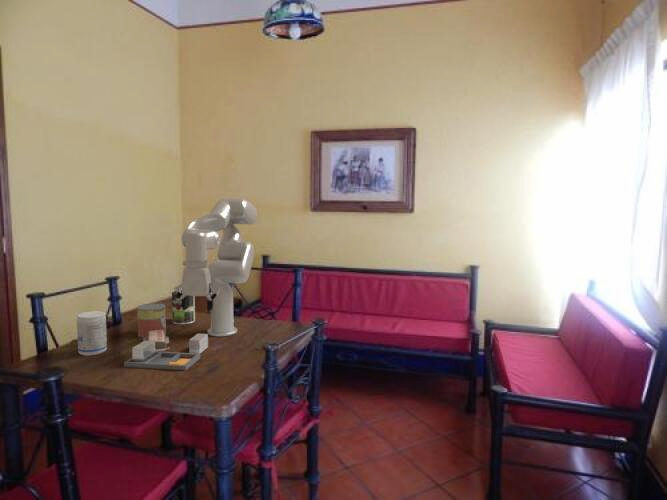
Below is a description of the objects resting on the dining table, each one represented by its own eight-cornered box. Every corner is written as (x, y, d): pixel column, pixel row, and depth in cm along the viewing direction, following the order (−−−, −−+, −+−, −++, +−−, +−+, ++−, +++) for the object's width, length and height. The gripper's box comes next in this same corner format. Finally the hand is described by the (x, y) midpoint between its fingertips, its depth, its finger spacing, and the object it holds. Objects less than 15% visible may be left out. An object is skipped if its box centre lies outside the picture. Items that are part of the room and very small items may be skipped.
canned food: (162, 337, 187) (161, 309, 186) (134, 338, 186) (133, 309, 184) (168, 329, 198) (168, 303, 197) (142, 330, 197) (141, 303, 195)
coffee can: (188, 325, 205) (188, 295, 204) (168, 323, 207) (167, 293, 205) (199, 319, 215) (198, 290, 214) (179, 318, 217) (178, 289, 216)
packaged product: (142, 330, 182) (168, 327, 186) (142, 341, 183) (168, 339, 187) (140, 343, 166) (169, 340, 169) (141, 355, 166) (169, 352, 170)
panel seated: (145, 356, 162) (144, 340, 161) (155, 357, 161) (155, 341, 161) (132, 364, 154) (132, 347, 153) (143, 365, 154) (143, 348, 153)
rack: (142, 356, 164) (142, 349, 164) (200, 359, 162) (200, 352, 161) (123, 369, 152) (123, 360, 152) (185, 372, 150) (185, 364, 149)
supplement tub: (74, 352, 168) (72, 314, 166) (100, 346, 175) (98, 309, 174) (85, 358, 162) (83, 318, 160) (111, 351, 169) (110, 313, 167)
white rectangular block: (198, 348, 174) (197, 333, 174) (208, 348, 174) (207, 333, 173) (189, 355, 166) (189, 339, 166) (199, 356, 166) (199, 340, 165)
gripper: (169, 265, 164) (170, 311, 165) (215, 267, 162) (215, 313, 163) (179, 262, 171) (180, 306, 173) (222, 264, 169) (223, 308, 171)
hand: (197, 309), depth 168 cm, fingers open, 9 cm apart
